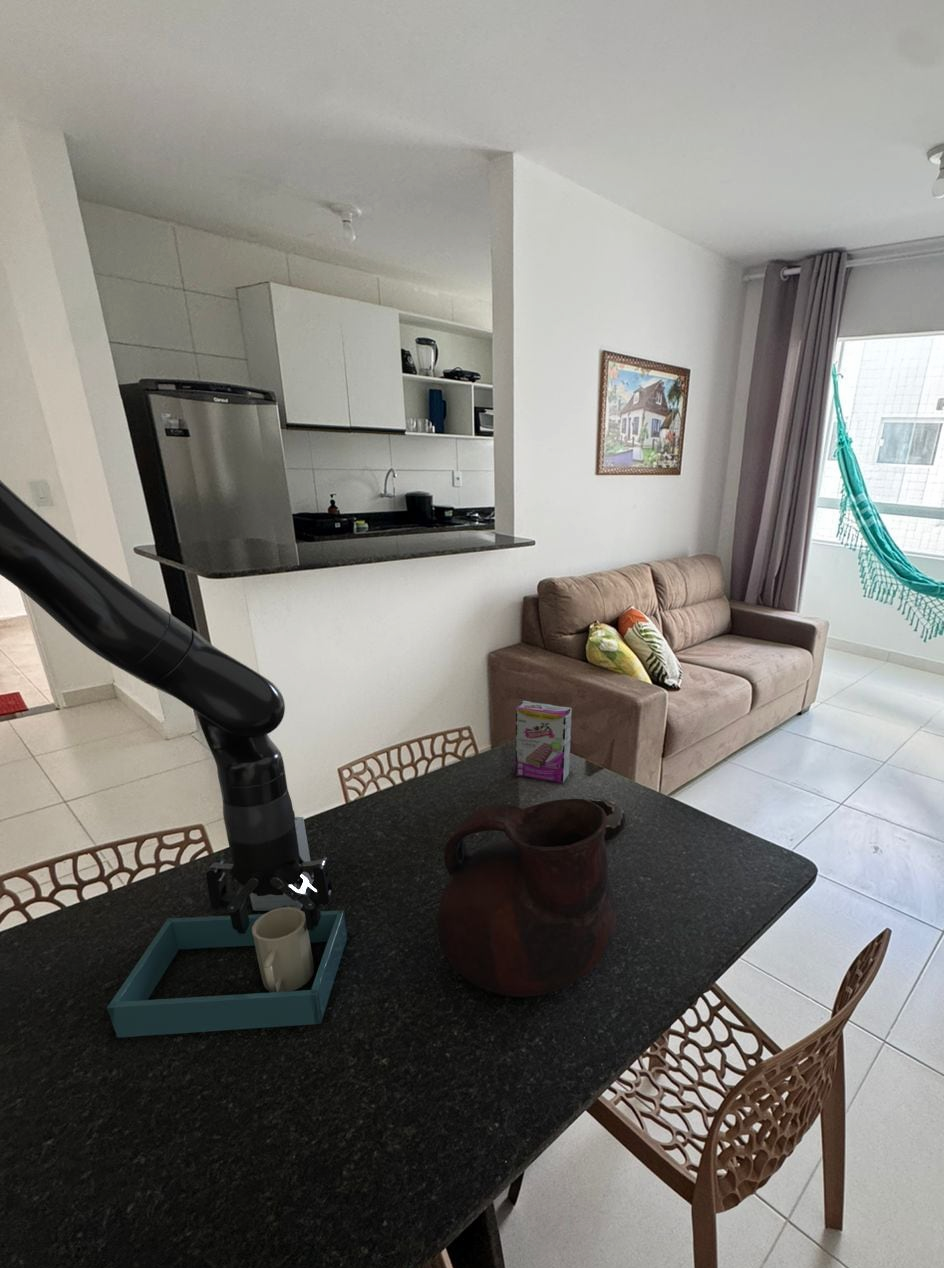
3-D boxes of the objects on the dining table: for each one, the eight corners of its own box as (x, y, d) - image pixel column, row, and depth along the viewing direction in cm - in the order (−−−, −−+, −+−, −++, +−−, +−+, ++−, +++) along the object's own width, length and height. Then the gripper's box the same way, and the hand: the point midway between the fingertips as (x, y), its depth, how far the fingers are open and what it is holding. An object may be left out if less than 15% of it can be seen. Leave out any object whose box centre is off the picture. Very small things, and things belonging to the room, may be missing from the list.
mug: (271, 959, 93) (261, 908, 89) (319, 956, 94) (311, 906, 90) (248, 1012, 84) (236, 958, 81) (301, 1009, 85) (291, 955, 82)
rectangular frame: (117, 1037, 80) (106, 1007, 78) (175, 945, 94) (167, 918, 92) (320, 1024, 83) (316, 994, 81) (347, 937, 98) (344, 910, 96)
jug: (502, 881, 111) (501, 748, 101) (640, 932, 101) (653, 791, 91) (400, 981, 90) (385, 826, 80) (560, 1057, 81) (566, 892, 71)
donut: (554, 818, 130) (554, 801, 128) (606, 806, 135) (608, 789, 133) (581, 850, 120) (581, 831, 119) (636, 835, 126) (637, 817, 124)
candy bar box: (514, 777, 144) (514, 708, 138) (522, 766, 149) (522, 699, 142) (563, 785, 142) (565, 715, 135) (570, 774, 147) (572, 706, 140)
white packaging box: (267, 882, 108) (255, 816, 103) (315, 880, 109) (305, 815, 104) (251, 912, 101) (236, 843, 96) (301, 910, 102) (290, 842, 97)
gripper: (184, 843, 77) (209, 951, 83) (314, 839, 79) (328, 945, 85) (210, 809, 83) (231, 911, 90) (328, 806, 85) (341, 907, 92)
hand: (278, 928), depth 88 cm, fingers open, 8 cm apart
